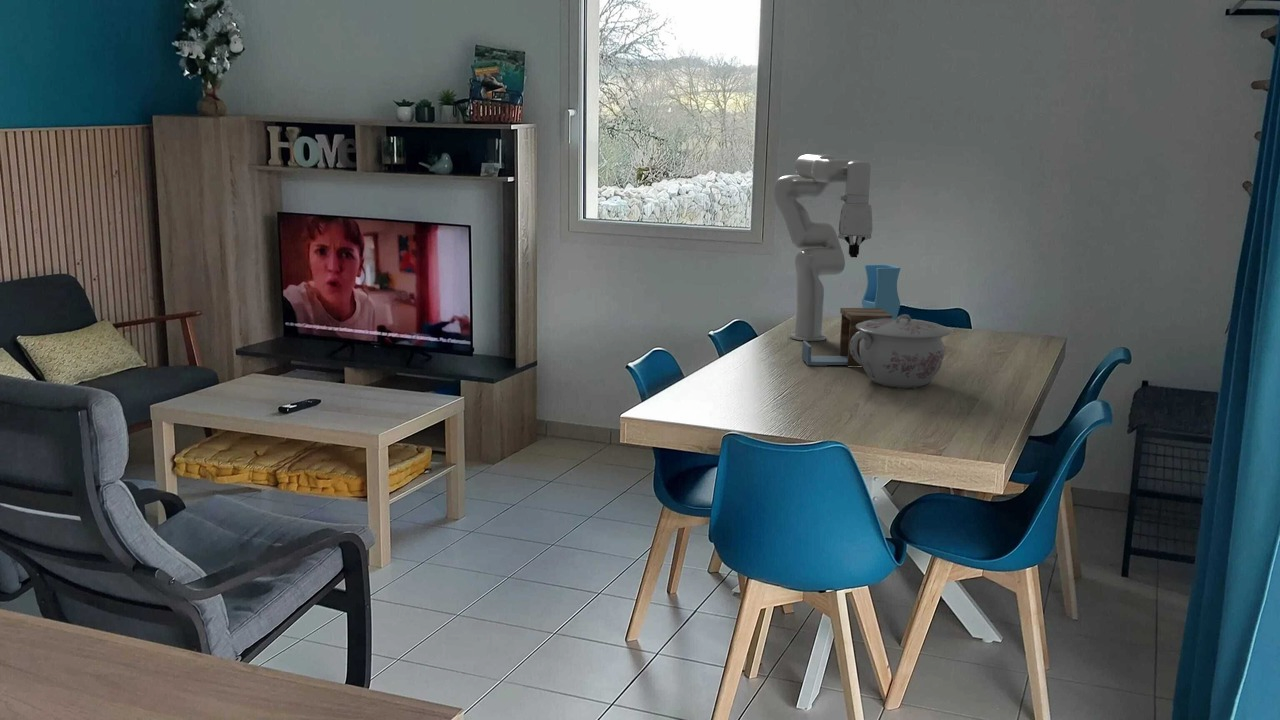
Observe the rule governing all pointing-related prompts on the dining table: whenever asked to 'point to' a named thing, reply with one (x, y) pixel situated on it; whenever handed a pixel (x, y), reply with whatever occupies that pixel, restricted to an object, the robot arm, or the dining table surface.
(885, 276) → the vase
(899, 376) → the chamber pot
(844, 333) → the open wooden box
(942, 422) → the dining table surface
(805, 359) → the blue-grey l-shaped bracket
